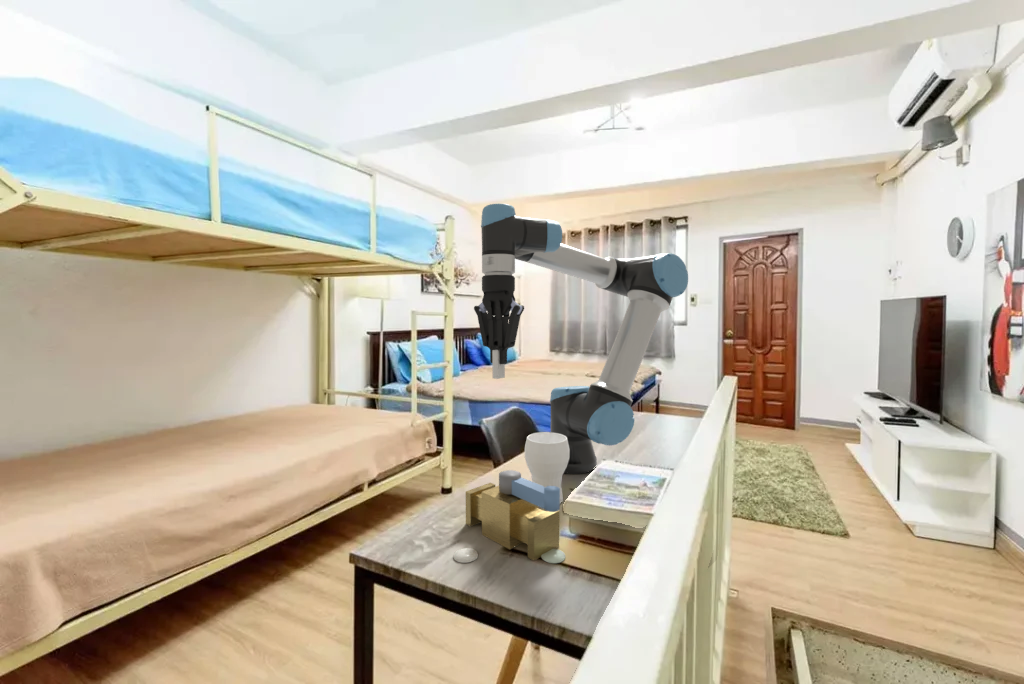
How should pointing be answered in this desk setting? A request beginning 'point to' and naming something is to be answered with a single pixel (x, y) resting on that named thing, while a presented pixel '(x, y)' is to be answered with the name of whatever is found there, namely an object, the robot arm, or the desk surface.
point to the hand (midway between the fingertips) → (498, 377)
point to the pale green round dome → (553, 556)
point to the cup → (547, 458)
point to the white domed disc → (465, 555)
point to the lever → (529, 490)
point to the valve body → (512, 520)
